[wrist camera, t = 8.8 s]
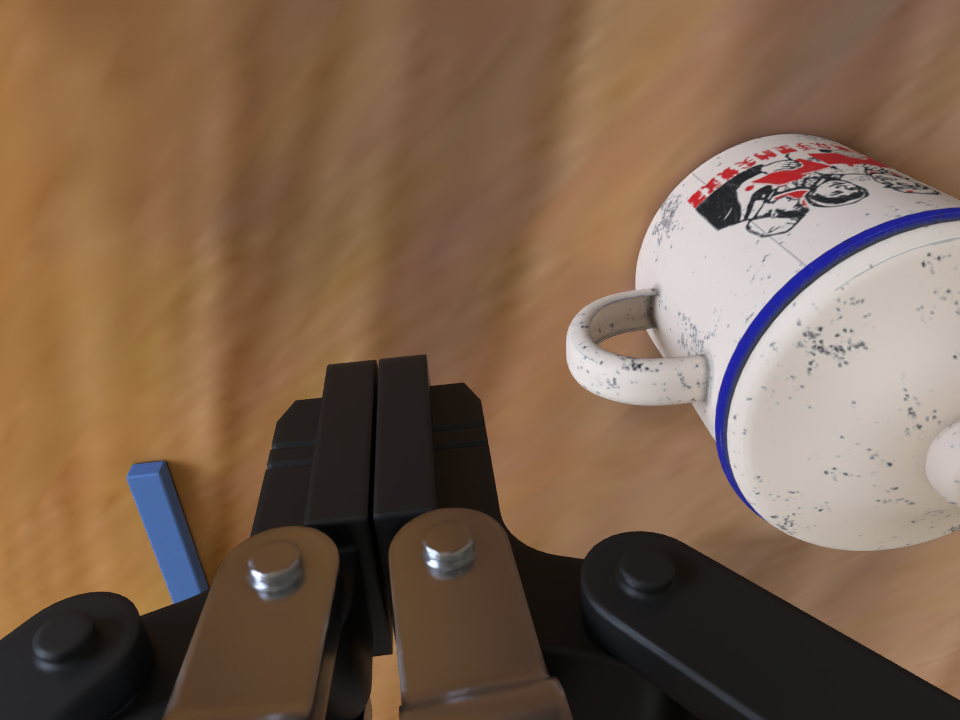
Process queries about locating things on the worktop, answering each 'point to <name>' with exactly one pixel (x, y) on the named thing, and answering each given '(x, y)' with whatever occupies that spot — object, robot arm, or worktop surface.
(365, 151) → the worktop surface
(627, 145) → the worktop surface
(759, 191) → the teacup with lid
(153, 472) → the spoon
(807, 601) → the worktop surface
